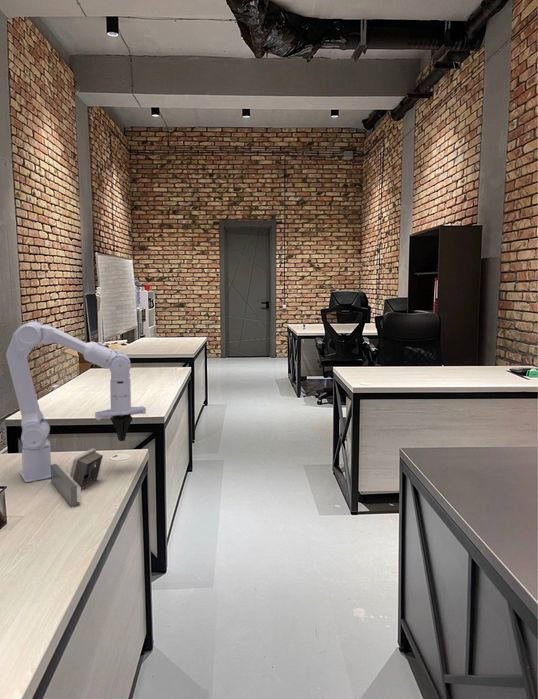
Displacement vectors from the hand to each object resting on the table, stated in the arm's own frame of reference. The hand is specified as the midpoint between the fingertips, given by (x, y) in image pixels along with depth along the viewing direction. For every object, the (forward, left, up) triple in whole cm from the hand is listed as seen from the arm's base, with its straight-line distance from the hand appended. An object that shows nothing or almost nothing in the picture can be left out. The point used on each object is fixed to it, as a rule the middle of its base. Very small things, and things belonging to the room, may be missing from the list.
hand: (121, 440), depth 157 cm
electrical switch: (+5, -12, -9) cm, 16 cm away
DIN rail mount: (+9, -19, -9) cm, 23 cm away
